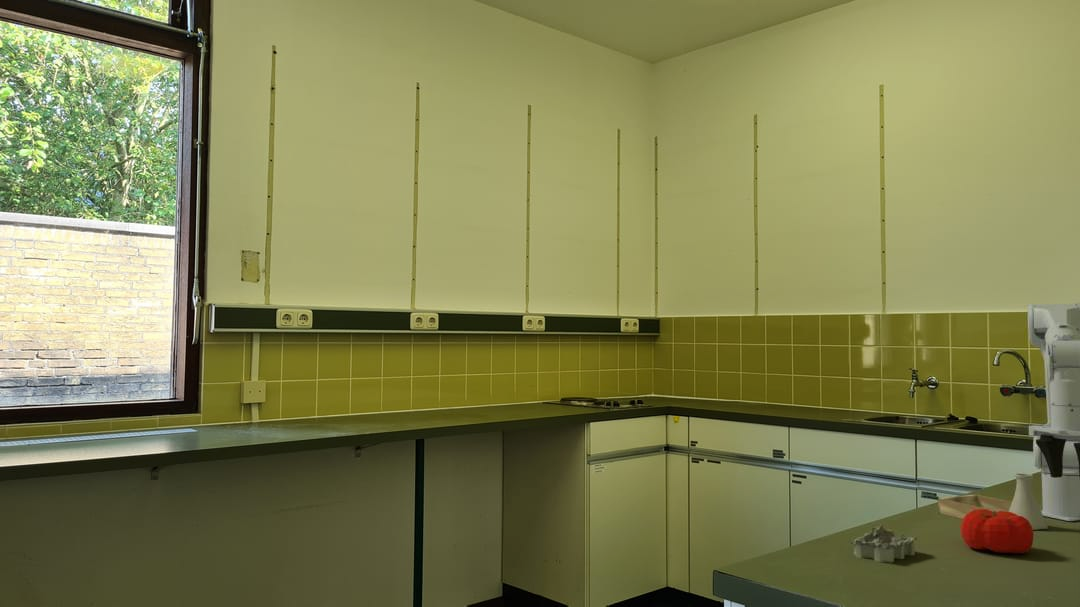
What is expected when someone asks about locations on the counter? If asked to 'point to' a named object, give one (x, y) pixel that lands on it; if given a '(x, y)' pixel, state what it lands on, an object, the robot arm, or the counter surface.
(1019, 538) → the tomato
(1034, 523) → the flask
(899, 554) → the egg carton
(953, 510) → the oak frame
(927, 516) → the counter surface
